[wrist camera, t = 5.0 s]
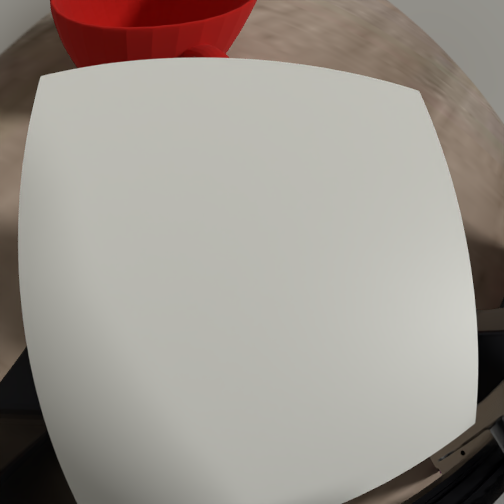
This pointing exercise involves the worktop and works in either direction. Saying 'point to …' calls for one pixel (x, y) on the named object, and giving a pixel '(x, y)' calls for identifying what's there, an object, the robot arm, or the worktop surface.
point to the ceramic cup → (147, 28)
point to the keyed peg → (241, 282)
